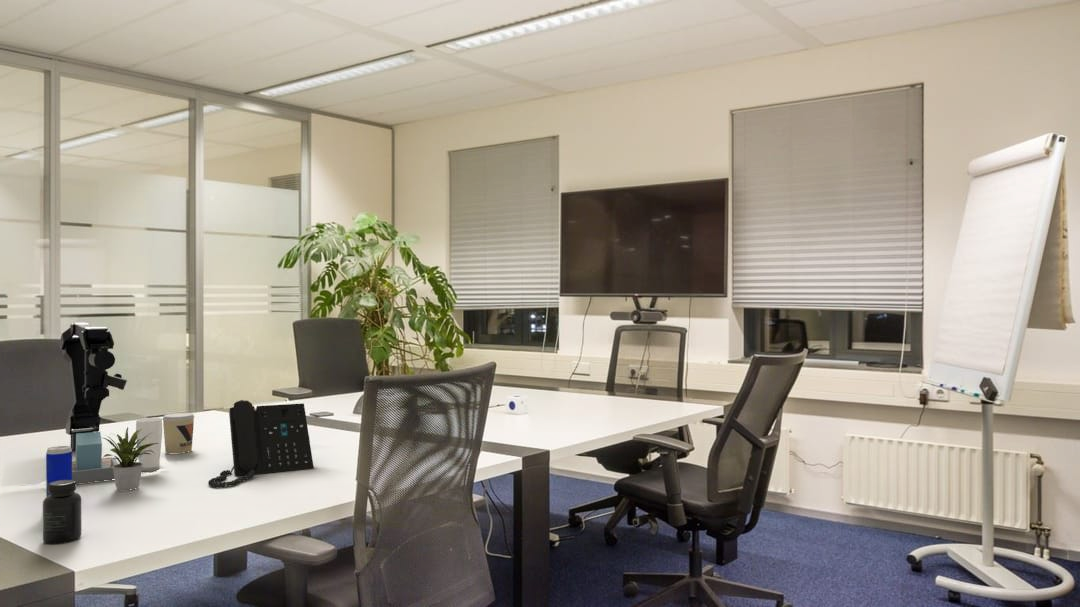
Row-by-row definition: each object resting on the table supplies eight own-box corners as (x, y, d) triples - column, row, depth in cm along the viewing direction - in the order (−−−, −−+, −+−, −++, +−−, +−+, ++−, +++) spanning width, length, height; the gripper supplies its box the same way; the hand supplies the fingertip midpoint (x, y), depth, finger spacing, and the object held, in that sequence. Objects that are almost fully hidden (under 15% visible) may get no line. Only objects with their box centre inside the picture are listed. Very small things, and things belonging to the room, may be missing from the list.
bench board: (60, 467, 222) (60, 462, 222) (111, 462, 230) (111, 457, 230) (62, 475, 213) (62, 469, 213) (114, 469, 220) (114, 464, 220)
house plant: (111, 499, 188) (110, 434, 187) (82, 492, 195) (81, 429, 195) (165, 487, 200) (165, 426, 200) (136, 480, 207) (136, 421, 207)
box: (61, 475, 213) (61, 463, 213) (114, 469, 220) (114, 457, 220) (63, 486, 201) (62, 473, 201) (119, 479, 208) (119, 466, 208)
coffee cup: (181, 455, 240) (181, 417, 240) (156, 453, 242) (156, 416, 242) (200, 449, 249) (200, 413, 249) (175, 448, 251) (175, 412, 251)
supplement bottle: (59, 533, 161) (58, 478, 161) (89, 534, 160) (88, 478, 160) (34, 544, 154) (34, 486, 154) (65, 545, 154) (65, 486, 153)
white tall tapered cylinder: (167, 469, 220) (167, 418, 220) (148, 474, 214) (148, 422, 214) (149, 467, 223) (149, 417, 223) (130, 472, 216) (130, 420, 216)
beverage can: (54, 508, 180) (53, 445, 180) (76, 507, 181) (76, 445, 181) (41, 514, 175) (41, 450, 175) (64, 513, 176) (64, 449, 175)
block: (75, 461, 218) (76, 433, 216) (99, 458, 222) (100, 431, 219) (76, 473, 213) (77, 445, 210) (101, 471, 216) (101, 443, 214)
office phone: (209, 490, 198) (209, 414, 198) (200, 468, 223) (200, 400, 223) (322, 477, 212) (322, 406, 212) (302, 458, 237) (302, 394, 237)
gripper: (128, 368, 230) (128, 419, 230) (122, 363, 246) (122, 411, 246) (85, 370, 224) (85, 422, 224) (82, 365, 240) (82, 414, 240)
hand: (95, 417), depth 234 cm, fingers closed
